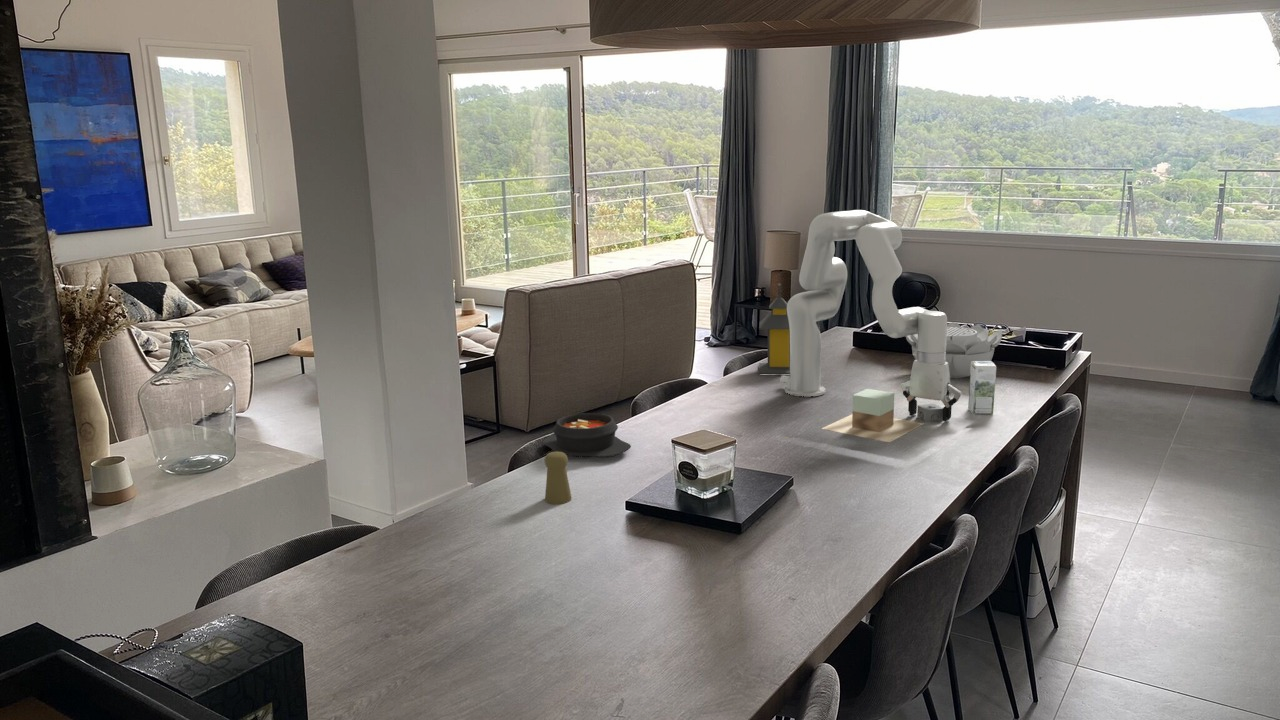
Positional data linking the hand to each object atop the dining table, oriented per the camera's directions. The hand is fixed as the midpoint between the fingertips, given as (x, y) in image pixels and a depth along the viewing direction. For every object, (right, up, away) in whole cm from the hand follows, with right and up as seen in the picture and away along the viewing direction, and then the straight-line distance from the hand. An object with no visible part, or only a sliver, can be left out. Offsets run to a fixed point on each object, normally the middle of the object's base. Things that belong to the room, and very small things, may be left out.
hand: (929, 417), depth 259 cm
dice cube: (0, -2, 0) cm, 2 cm away
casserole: (-94, -8, -13) cm, 95 cm away
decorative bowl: (+22, +11, +52) cm, 57 cm away
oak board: (-17, -4, -4) cm, 18 cm away
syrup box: (+18, +1, +10) cm, 20 cm away
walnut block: (-17, -2, -5) cm, 18 cm away
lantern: (-32, +12, +65) cm, 73 cm away
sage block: (-17, +2, -6) cm, 18 cm away
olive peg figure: (-98, -16, -45) cm, 109 cm away
